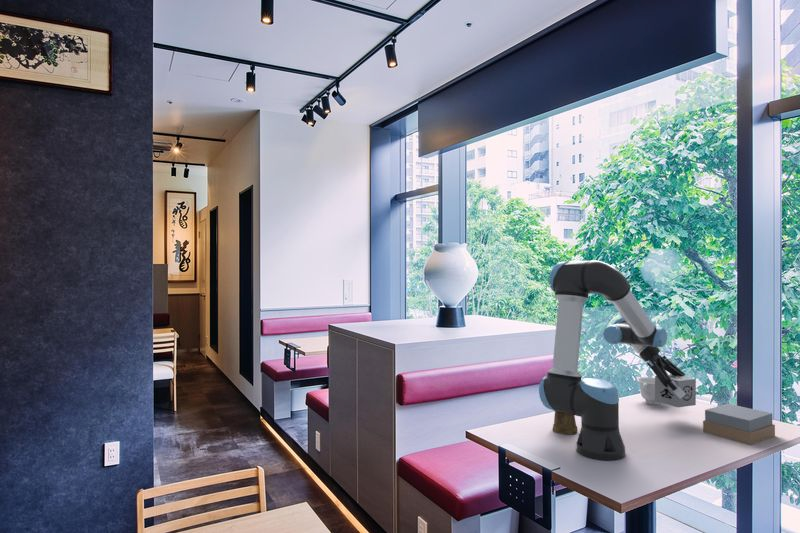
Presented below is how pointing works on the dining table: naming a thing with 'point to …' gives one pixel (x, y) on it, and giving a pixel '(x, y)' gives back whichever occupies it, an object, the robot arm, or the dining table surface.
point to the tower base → (739, 433)
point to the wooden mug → (564, 423)
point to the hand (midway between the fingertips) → (688, 394)
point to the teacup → (648, 389)
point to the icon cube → (669, 397)
